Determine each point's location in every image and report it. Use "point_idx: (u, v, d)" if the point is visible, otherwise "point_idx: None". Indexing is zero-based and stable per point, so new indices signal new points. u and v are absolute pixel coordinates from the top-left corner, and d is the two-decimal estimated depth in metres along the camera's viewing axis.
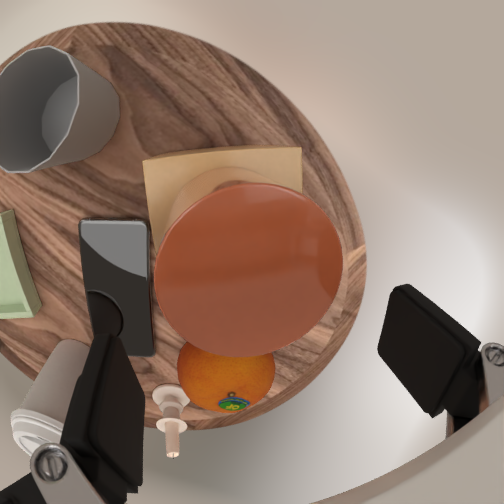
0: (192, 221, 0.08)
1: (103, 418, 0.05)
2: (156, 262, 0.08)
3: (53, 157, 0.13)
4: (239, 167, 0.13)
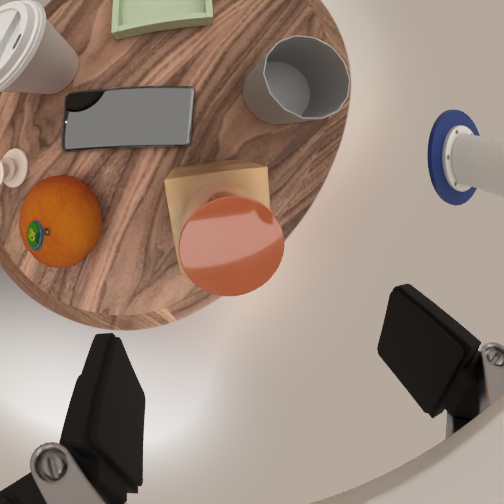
0: (268, 217, 0.17)
1: (103, 418, 0.05)
2: (247, 198, 0.16)
3: (269, 95, 0.21)
4: None
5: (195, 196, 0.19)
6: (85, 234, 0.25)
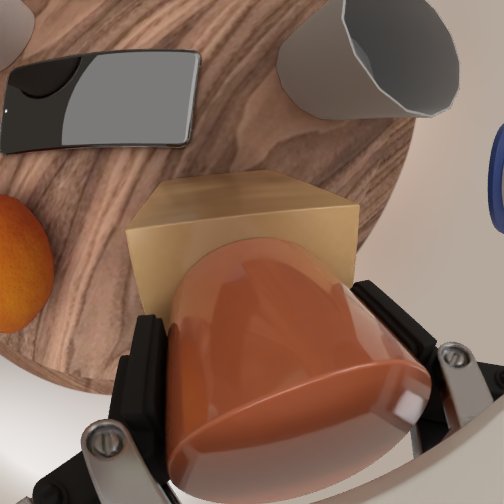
0: (418, 387, 0.05)
1: (156, 390, 0.06)
2: (392, 362, 0.04)
3: (351, 58, 0.09)
4: None
5: (200, 285, 0.07)
6: (22, 294, 0.13)
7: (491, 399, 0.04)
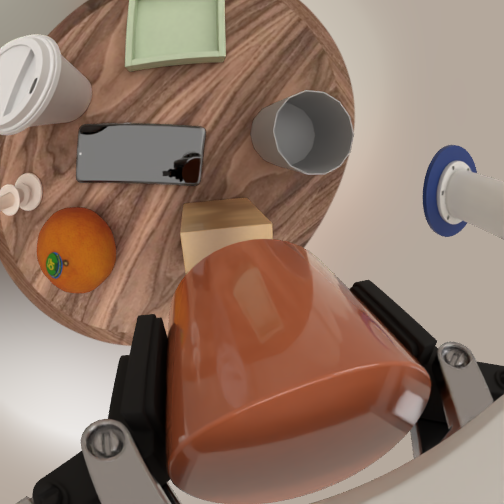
0: (418, 388, 0.05)
1: (156, 391, 0.06)
2: (392, 363, 0.04)
3: (277, 151, 0.25)
4: None
5: (201, 286, 0.07)
6: (102, 266, 0.28)
7: (491, 399, 0.04)
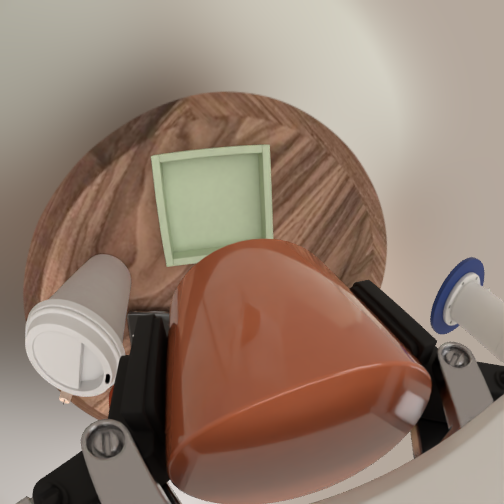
0: (418, 388, 0.05)
1: (156, 390, 0.06)
2: (392, 363, 0.04)
3: None
4: None
5: (200, 286, 0.07)
6: None
7: (491, 399, 0.04)
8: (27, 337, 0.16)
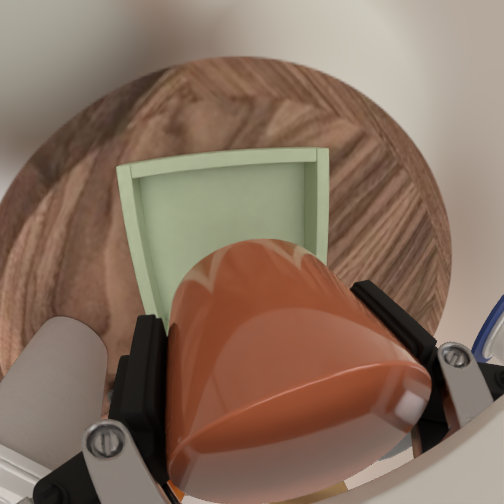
0: (418, 388, 0.05)
1: (156, 390, 0.06)
2: (392, 363, 0.04)
3: None
4: None
5: (200, 285, 0.07)
6: None
7: (491, 399, 0.04)
8: None
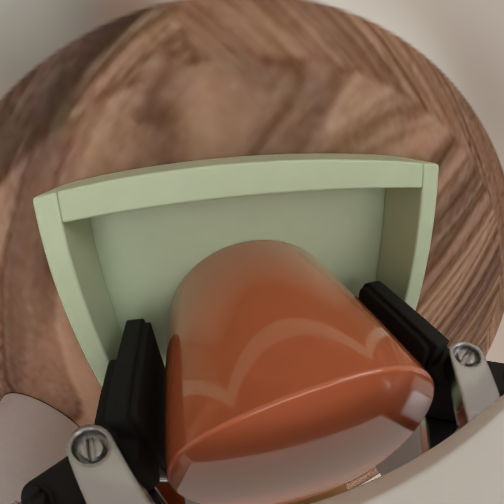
0: (421, 392, 0.05)
1: (142, 397, 0.05)
2: (396, 368, 0.04)
3: None
4: None
5: (200, 288, 0.07)
6: None
7: None
8: None
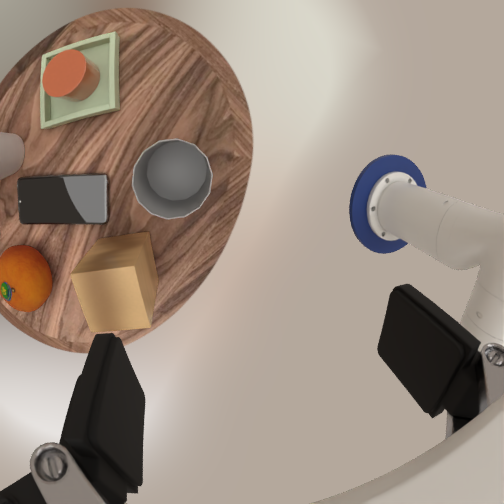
0: (79, 55, 0.22)
1: (103, 418, 0.05)
2: (72, 49, 0.21)
3: (139, 201, 0.28)
4: (99, 79, 0.28)
5: None
6: (38, 292, 0.31)
7: None
8: None
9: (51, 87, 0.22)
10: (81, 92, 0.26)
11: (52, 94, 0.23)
